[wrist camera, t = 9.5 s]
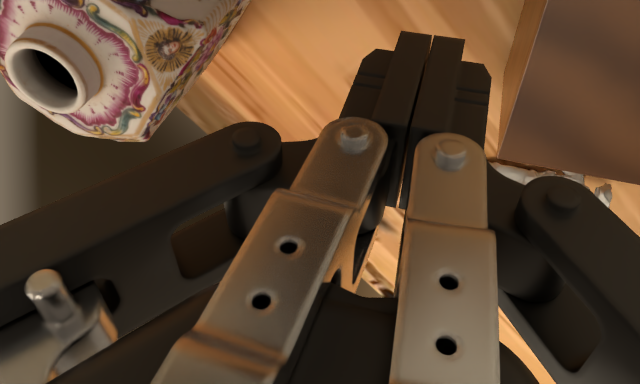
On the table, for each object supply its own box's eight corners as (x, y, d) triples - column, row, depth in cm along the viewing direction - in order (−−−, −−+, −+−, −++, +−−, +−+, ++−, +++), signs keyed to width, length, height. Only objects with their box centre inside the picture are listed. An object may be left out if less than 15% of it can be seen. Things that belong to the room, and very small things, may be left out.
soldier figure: (457, 128, 48) (610, 141, 40) (480, 136, 51) (623, 149, 44) (442, 218, 48) (592, 246, 40) (466, 219, 52) (606, 245, 44)
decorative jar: (145, -174, 37) (-53, -80, 24) (288, -58, 39) (174, 78, 27) (98, -36, 45) (-67, 86, 33) (219, 52, 48) (108, 195, 35)
